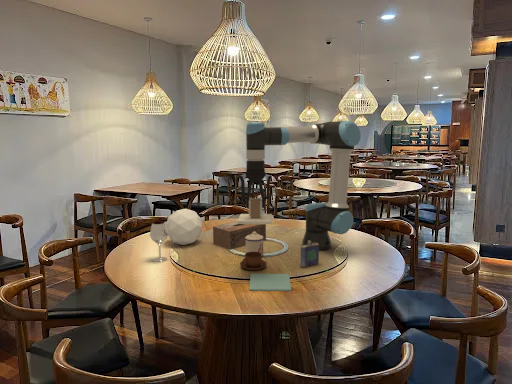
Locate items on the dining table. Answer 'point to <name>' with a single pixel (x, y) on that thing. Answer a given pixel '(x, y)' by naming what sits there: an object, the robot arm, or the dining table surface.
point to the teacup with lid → (254, 243)
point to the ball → (184, 226)
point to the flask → (309, 255)
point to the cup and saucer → (253, 261)
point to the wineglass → (159, 237)
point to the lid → (255, 215)
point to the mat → (270, 282)
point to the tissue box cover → (235, 234)
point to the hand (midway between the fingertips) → (255, 215)
